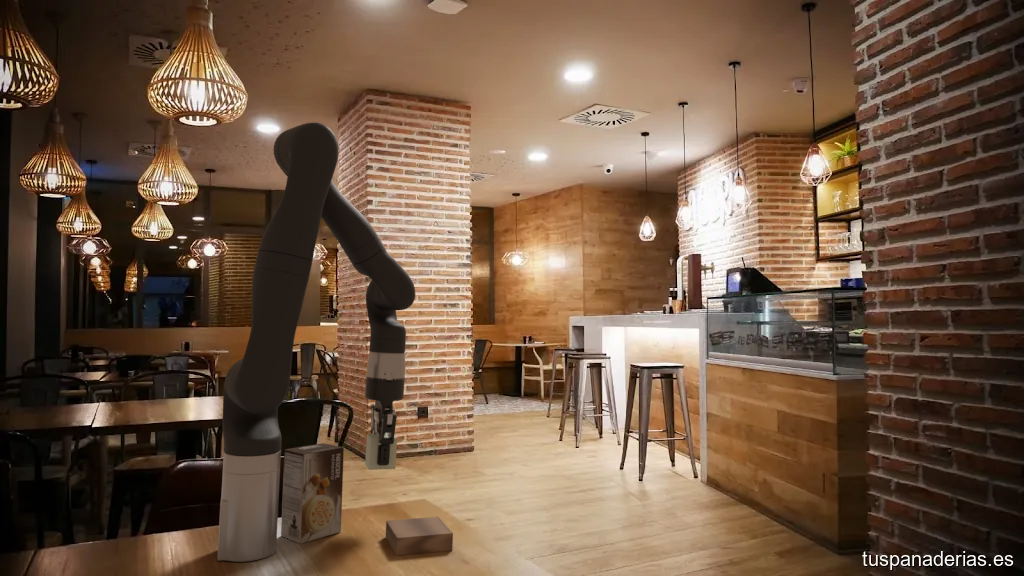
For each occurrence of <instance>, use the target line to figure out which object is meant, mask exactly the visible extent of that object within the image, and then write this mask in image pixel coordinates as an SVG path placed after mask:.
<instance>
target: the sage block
mask: <svg viewBox="0 0 1024 576" xmlns="http://www.w3.org/2000/svg"><path fill="white" fill-rule="evenodd" d="M387 437H388V434H384V438H387ZM397 444H398V437H397V436H395V435H394V443H393V444H391V445H390V456H389V464H388V465H378V464H377V456H378V434H371V433H367V434H366V445H365V459H364V460H365V462H364V463H365V464H364V465H365V466H366V467H367V468H368V470H370V471H373V470H375V471H377V470H395V469H396V465H397V464H396V463H397V462H396V461H397V448H398V447H397Z"/></svg>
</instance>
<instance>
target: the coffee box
mask: <svg viewBox="0 0 1024 576" xmlns="http://www.w3.org/2000/svg"><path fill="white" fill-rule="evenodd" d="M344 450H345V448H344V446H338V445H333V444H329V443H323V442H322V443H317V444H312V445H311V444H310V445H303V446H297V447H291V448H285V449H284V451H283V478H282V481H283V482H282V500H281V501H282V502H281V523H280V524H281V527H280V536H281V537H282V536H283V537H282V538H284V537H285V539H287V538H288V539H287V540H289V541H290V540H291V541H292V542H295V543H297V544H304V543H308V542H311V541H316V540H317V539H321V538H324V537H329V536H330V535H331V536H332V535H334V534H338V533H341V532H342V515H343V514H342V511H343V509H342V507H343V505H342V504H343V486H344V485H343V477H344Z"/></svg>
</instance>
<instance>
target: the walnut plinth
mask: <svg viewBox="0 0 1024 576" xmlns="http://www.w3.org/2000/svg"><path fill="white" fill-rule="evenodd" d="M385 539H386V540H387V542H388V543H389V545H390V548H391V549H392V550H393V552H394V554H395V556H397V557H398V556H406V555H417V554H426V553H436V552H437V553H438V552H446V551H449V552H450V551H453V543H454V542H453V539H454V533H453V531H452V530H451V529H450V528H449V527H448V525H446V523H444V522H443V520H442V519H441V518H440V517H439V516H432V517H430V516H429V517H417V518H406V519H390V520H386V521H385Z"/></svg>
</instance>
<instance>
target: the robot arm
mask: <svg viewBox="0 0 1024 576" xmlns="http://www.w3.org/2000/svg"><path fill="white" fill-rule="evenodd" d="M339 148H340V147H339V142H338V140H337V136H336V135H335V133H334V132H333V130H332V129H331V128H330V127H329V126H327V125H326V124H324V123H320V122H306V123H302V124H300V125H297V126H294V127H292V128H289V129H287V130H284V131H283V132H281V133H280V134H279V135H278V136H277V137H276V139H275V141H274V143H273V156H274V160H275V161H276V164H277V165H278V167H279V169H280V170H281V171H282V172H283V174H285V176H286V184H285V187H284V188H285V189H284V192H283V195H282V197H281V200H280V202H279V205H278V206H277V208H276V210H275V212H274V214H273V216H271V219H270V220H269V222H268V225H267V227H266V228H265V231H264V233H263V235H262V237H261V240H260V244H259V245H258V246H259V247H258V248H257V250H258V251H257V253H256V254H257V255H256V259H255V263H254V268H253V274H252V279H251V280H252V281H251V328H250V333H249V336H248V337H249V338H248V342H247V345H246V349H245V351H244V355H243V358H241V359H239V360H237V361H236V362H235V363H233V364H232V365H231V366H230V368H229V369H228V371H227V373H226V375H225V377H224V378H225V380H224V383H223V395H222V398H223V399H222V424H221V425H222V435H223V461H222V476H221V477H222V479H221V480H222V481H221V495H220V496H221V497H220V502H219V503H220V505H219V507H220V508H219V522H218V524H219V525H218V543H217V561H228V562H242V563H243V562H251V561H257V560H262V559H265V558H268V557H271V556H272V555H273V554H275V553H276V551H277V541H278V535H277V534H278V519H279V518H278V517H279V499H280V498H279V497H280V496H279V495H280V478H281V463H282V462H281V460H282V458H281V455H282V439H283V437H282V433H281V429H280V425H279V414H278V413H279V410H278V409H279V407H280V406H281V404H283V402H284V401H285V399H286V396H287V395H288V392H289V390H290V389H289V388H290V381H291V372H292V371H291V370H292V361H293V350H294V345H295V344H294V342H295V337H296V331H297V328H298V323H299V321H300V316H301V312H302V309H303V304H304V302H305V301H304V299H305V295H306V292H307V288H308V285H309V284H308V283H309V280H310V274H311V269H312V265H313V261H314V254H315V248H316V244H317V239H318V235H319V229H320V225H321V219H322V221H323V222H324V223H325V224H326V226H327V228H328V229H329V230H330V231H331V233H332V234H333V236H334V237H335V239H336V241H337V242H338V244H339V246H340V247H341V248H342V250H343V252H344V253H345V255H346V257H347V258H348V260H349V261H350V263H351V264H352V266H353V267H354V269H355V271H356V272H358V274H360V275H363V276H366V277H368V278H369V279H370V282H369V283H368V286H367V289H366V292H365V293H366V294H365V304H366V306H365V307H366V312H367V317H368V318H367V319H368V323H369V330H370V334H369V336H370V337H369V338H370V339H369V352H368V357H367V362H366V377H365V392H364V393H365V394H364V397H365V398H366V399H367V400H370V401H374V404H373V405H371V407H370V411H371V412H370V413H371V414H370V432H369V434H378V456H377V464H378V465H388V464H389V456H390V445H391V444H393V443H394V436H395V435H396V434H395V433H396V426H397V419H398V416H397V413H396V410H395V409H394V405H393V403H394V402H399V401H402V400H403V399H404V394H405V378H406V376H405V375H406V342H407V341H406V340H407V331H406V326H404V325H403V324H402V323H400V322H399V321H398V317H397V311H405V310H407V309H408V308H410V307H411V306H412V305H413V304H414V302H415V300H416V287H415V284H414V282H413V280H412V278H411V276H410V275H409V274H408V272H407V271H406V270H405V269H404V268H403V267H402V266H401V264H399V263H398V261H397V260H396V259H395V258H394V257H392V255H391V254H390V253H389V252H388V251H387V249H386V247H385V246H384V244H383V242H382V240H381V238H380V237H379V235H378V234H377V232H376V231H375V229H374V227H373V226H372V224H371V223H370V221H369V220H368V219H367V218H366V217H365V216H364V214H363V213H361V212H360V211H359V210H358V209H357V208H356V207H355V206H354V205H353V204H352V203H351V201H349V199H347V198H346V197H345V196H344V195H343V193H342V192H341V190H340V189H339V188H338V187H337V185H336V184H335V183H334V181H333V180H332V179H333V177H334V174H335V171H336V167H337V164H338V160H339ZM384 434H388V437H387V438H384Z"/></svg>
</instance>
